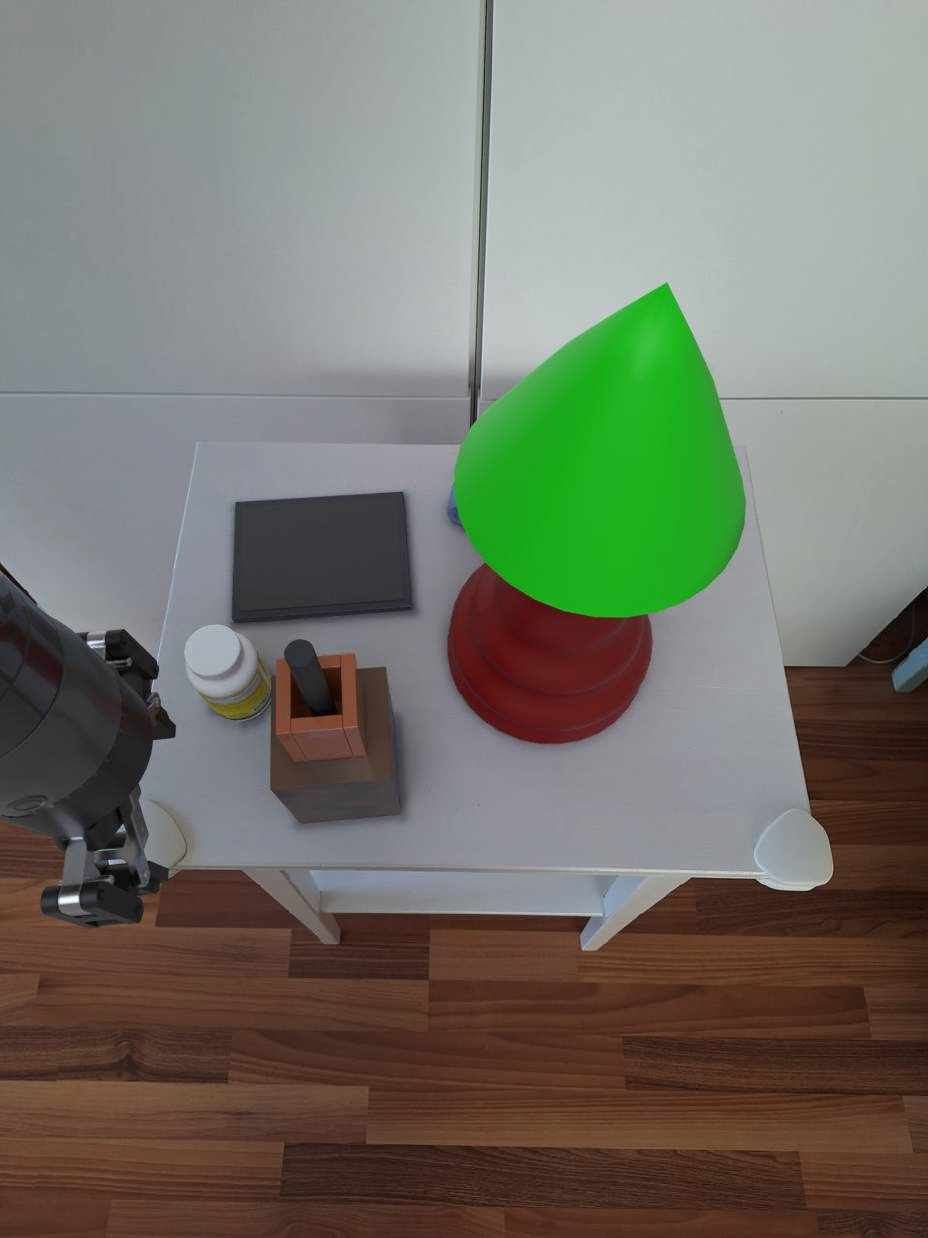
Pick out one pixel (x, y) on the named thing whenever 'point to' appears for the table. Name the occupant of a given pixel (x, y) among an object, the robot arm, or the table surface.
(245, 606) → the tablet
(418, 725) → the table surface
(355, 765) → the stand
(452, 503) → the decorative dice
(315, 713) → the stylus
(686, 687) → the table surface
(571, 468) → the table lamp
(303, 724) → the pen cup
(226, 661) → the pill bottle
